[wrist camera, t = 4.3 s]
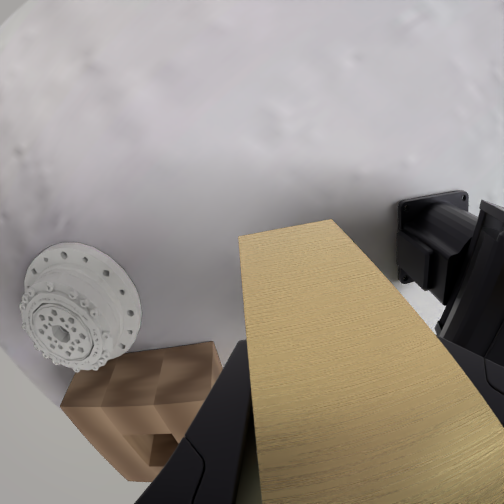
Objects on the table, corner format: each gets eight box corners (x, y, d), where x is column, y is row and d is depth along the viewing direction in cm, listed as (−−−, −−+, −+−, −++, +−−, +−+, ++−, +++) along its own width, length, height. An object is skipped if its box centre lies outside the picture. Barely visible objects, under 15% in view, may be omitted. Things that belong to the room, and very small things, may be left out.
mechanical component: (17, 296, 21) (102, 367, 25) (-9, 324, 17) (88, 403, 21) (66, 212, 19) (169, 303, 23) (34, 234, 15) (158, 341, 18)
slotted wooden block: (213, 341, 24) (210, 399, 18) (244, 428, 28) (248, 477, 23) (83, 357, 24) (59, 406, 18) (136, 436, 29) (128, 481, 23)
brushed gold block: (331, 218, 10) (559, 527, 1) (338, 320, 12) (449, 579, 2) (238, 236, 10) (280, 652, 1) (259, 337, 12) (302, 625, 2)
